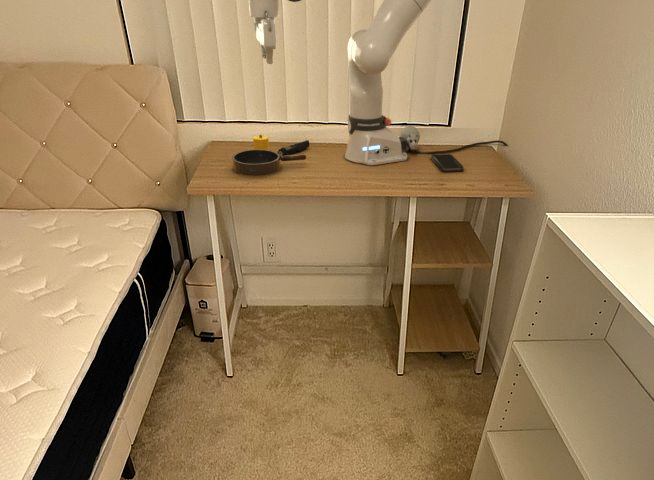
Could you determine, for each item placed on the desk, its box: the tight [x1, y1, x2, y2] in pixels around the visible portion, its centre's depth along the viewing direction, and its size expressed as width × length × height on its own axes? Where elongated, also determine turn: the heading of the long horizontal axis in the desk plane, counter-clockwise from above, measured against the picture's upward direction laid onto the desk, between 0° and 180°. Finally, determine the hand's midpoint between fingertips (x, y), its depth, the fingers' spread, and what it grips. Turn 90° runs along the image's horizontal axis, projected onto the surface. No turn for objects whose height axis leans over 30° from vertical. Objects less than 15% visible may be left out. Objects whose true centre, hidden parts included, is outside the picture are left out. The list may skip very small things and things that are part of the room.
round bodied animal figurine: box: [399, 125, 421, 153], centre depth 203 cm, size 7×12×8 cm, turn 5°
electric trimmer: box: [276, 139, 310, 157], centre depth 202 cm, size 4×16×3 cm, turn 143°
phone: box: [430, 153, 464, 173], centre depth 194 cm, size 8×1×15 cm
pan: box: [231, 149, 281, 177], centre depth 187 cm, size 16×16×4 cm
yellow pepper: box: [252, 134, 270, 151], centre depth 199 cm, size 5×5×6 cm
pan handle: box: [280, 153, 307, 162], centre depth 189 cm, size 9×2×2 cm, turn 105°
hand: (267, 60), depth 177 cm, fingers open, 8 cm apart
